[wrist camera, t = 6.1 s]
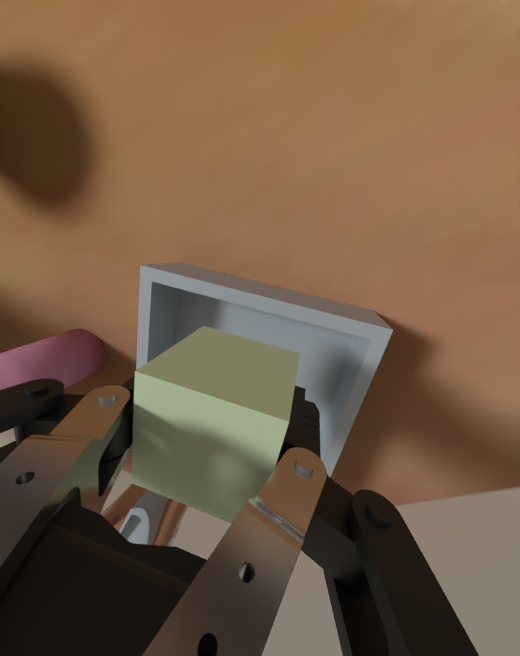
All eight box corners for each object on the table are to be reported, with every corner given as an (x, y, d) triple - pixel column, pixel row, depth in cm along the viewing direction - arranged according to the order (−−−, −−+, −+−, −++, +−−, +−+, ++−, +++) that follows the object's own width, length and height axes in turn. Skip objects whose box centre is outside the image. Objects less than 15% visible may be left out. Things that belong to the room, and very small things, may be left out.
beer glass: (169, 492, 26) (7, 764, 12) (138, 441, 25) (-84, 682, 11) (224, 485, 24) (101, 802, 10) (193, 428, 23) (4, 704, 9)
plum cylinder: (66, 364, 24) (-9, 398, 18) (64, 323, 22) (-19, 346, 17) (105, 377, 23) (40, 416, 18) (105, 336, 22) (33, 364, 16)
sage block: (203, 325, 11) (134, 371, 7) (299, 353, 11) (289, 421, 6) (192, 405, 13) (130, 482, 9) (276, 433, 12) (254, 532, 8)
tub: (164, 415, 23) (132, 449, 19) (178, 262, 18) (140, 264, 14) (313, 466, 21) (313, 516, 17) (374, 311, 16) (393, 329, 12)
